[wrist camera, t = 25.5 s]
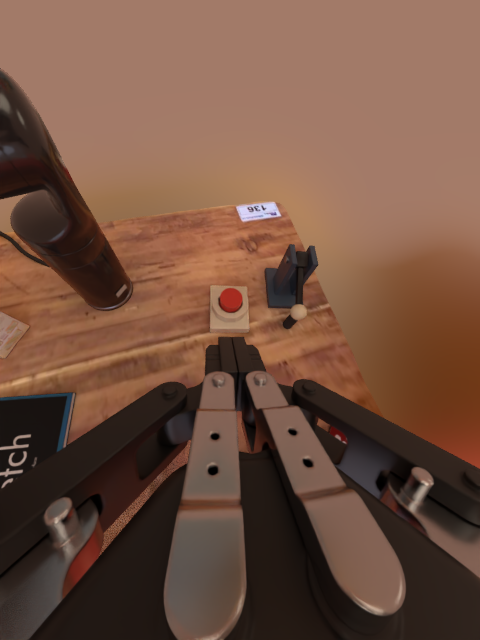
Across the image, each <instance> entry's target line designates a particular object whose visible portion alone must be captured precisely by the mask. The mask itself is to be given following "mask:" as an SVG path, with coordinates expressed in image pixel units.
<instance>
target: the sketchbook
mask: <svg viewBox="0 0 480 640" xmlns="http://www.w3.org/2000/svg"><path fill="white" fill-rule="evenodd" d="M75 394H76V393H60V394H46V395H31V396H17V397H3V398H0V489H1V488H3V487H5V486H6V485H8V484H9V483H11V482H12V481H14V480H15V479H17V478H18V477H20V476H21V475H23V474H24V473H26V472H27V471H29V470H31V469H32V468H34V467H35V466H37V465H38V464H40V463H41V462H43V461H44V460H46V459H47V458H49V457H50V456H52V455H53V454H55V453H56V452H58V451H60V450H61V449H63V448H64V447H66V445H67V439H68V434H69V428H70V422H71V417H72V411H73V406H74V400H75Z"/></svg>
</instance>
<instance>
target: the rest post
mask: <svg viewBox="0 0 480 640" xmlns="http://www.w3.org/2000/svg"><path fill="white" fill-rule="evenodd" d="M297 321H298V320H295V319H293V318H292V317H291V314H290V315H289V316H288V317H287V318H286V320H285V321H284V322H283V326H284V327H285V328H286V329H290V328H291V327H292V326H293V325H294V324H295V323H296V322H297Z"/></svg>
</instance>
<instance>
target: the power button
mask: <svg viewBox="0 0 480 640" xmlns="http://www.w3.org/2000/svg"><path fill="white" fill-rule="evenodd" d="M242 300H243V298H242V294H241V293H240V292H239V291H238V290H237V289H234V288H227V289H225V290H223V291H222V293H221V295H220V306H221V308H222V309H223V310H224V311H226V312H235V311H237V310H238V309H239V308H240V306H241V303H242Z"/></svg>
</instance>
